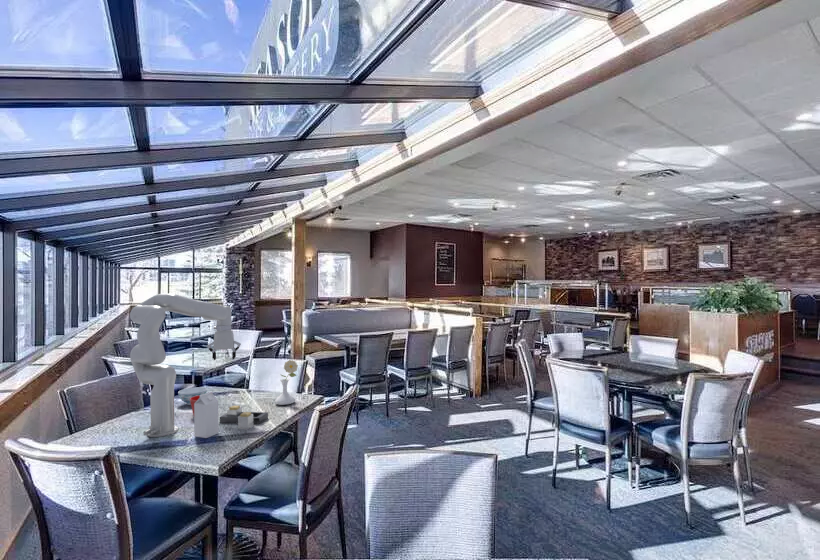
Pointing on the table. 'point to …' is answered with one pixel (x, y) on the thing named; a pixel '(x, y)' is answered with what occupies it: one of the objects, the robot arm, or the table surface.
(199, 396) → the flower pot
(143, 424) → the table surface
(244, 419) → the grey and tan block
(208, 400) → the milk carton
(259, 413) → the dark grey slotted board
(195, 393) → the chinaware
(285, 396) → the flower in vase
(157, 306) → the robot arm
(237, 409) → the tan topped grey block
